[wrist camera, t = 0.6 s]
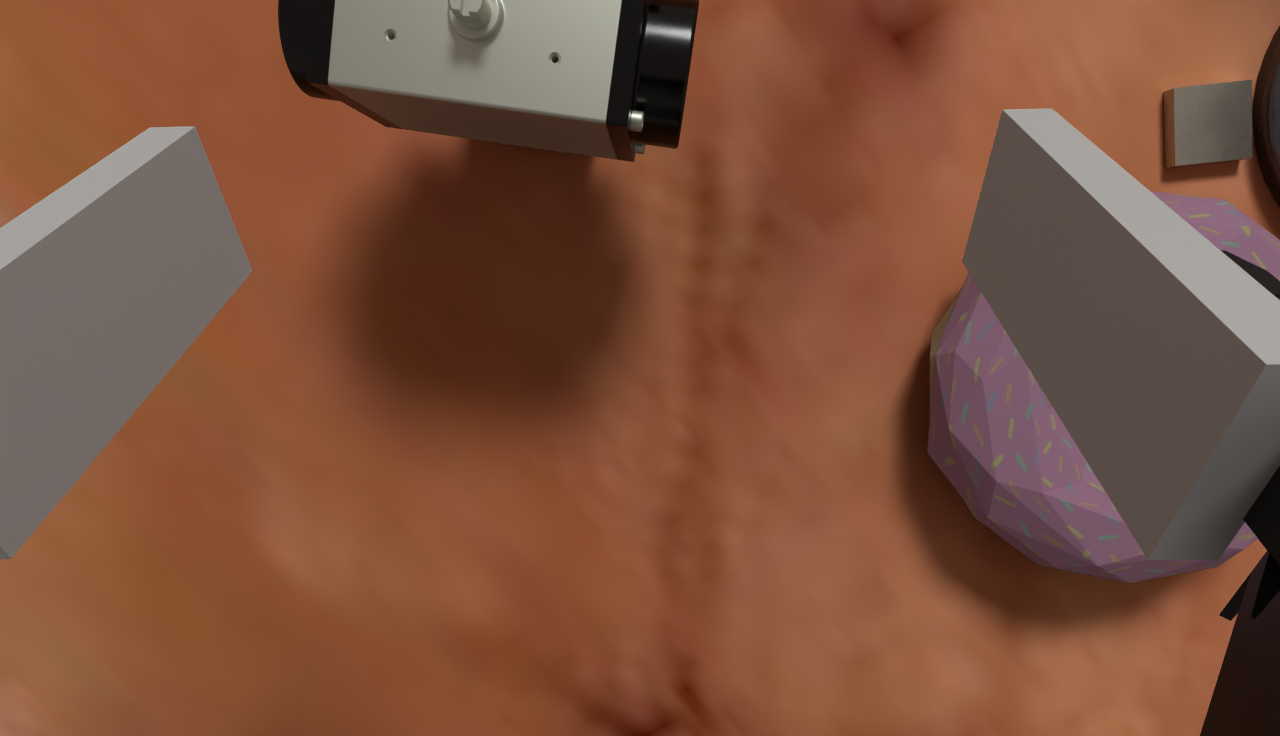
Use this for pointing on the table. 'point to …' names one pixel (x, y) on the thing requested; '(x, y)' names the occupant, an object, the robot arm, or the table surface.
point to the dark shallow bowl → (1227, 121)
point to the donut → (1049, 429)
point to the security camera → (502, 68)
